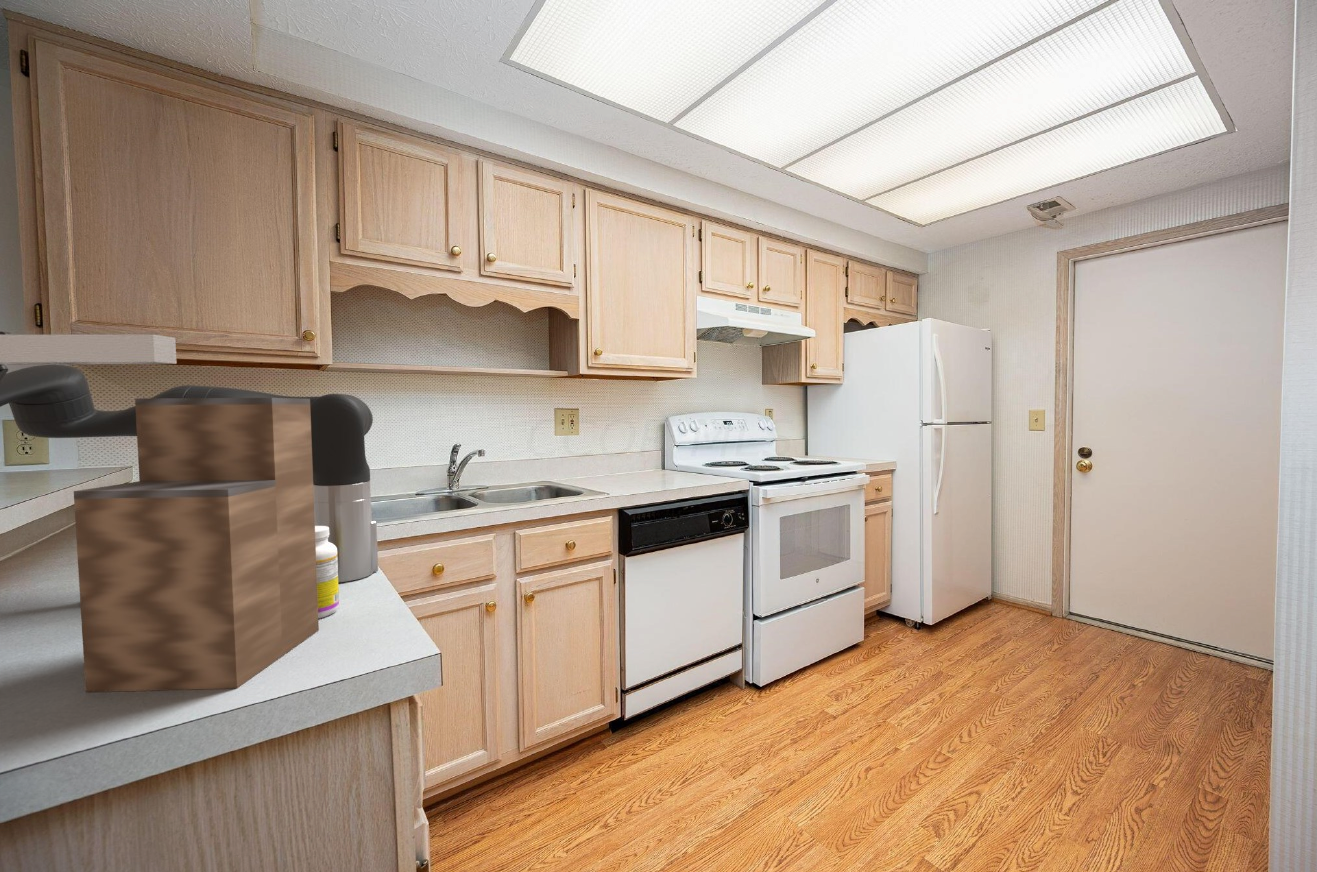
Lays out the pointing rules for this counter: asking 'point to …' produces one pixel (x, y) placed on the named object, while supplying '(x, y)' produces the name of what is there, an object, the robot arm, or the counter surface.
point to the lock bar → (87, 349)
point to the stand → (200, 547)
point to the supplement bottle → (326, 573)
